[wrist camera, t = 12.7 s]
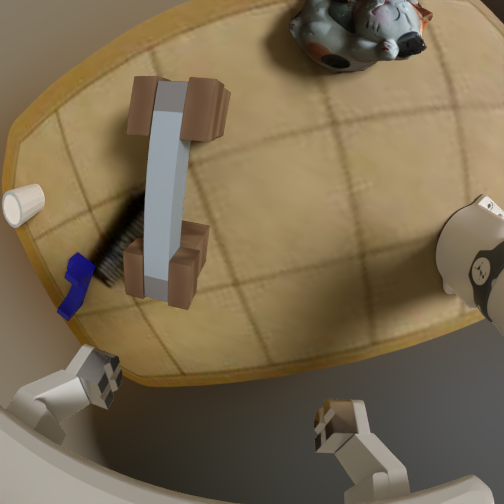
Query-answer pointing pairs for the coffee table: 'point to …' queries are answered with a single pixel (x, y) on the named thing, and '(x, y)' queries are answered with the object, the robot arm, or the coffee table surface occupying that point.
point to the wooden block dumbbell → (192, 234)
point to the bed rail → (164, 187)
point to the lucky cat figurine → (359, 31)
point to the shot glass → (22, 204)
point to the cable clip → (76, 284)
